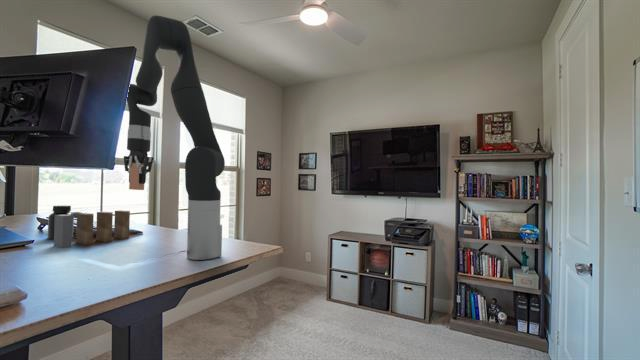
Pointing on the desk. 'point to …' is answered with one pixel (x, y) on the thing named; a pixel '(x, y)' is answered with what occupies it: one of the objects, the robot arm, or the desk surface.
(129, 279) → the desk surface
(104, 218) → the domino
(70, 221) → the end domino
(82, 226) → the domino
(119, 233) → the domino
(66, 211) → the supplement bottle
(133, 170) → the domino
